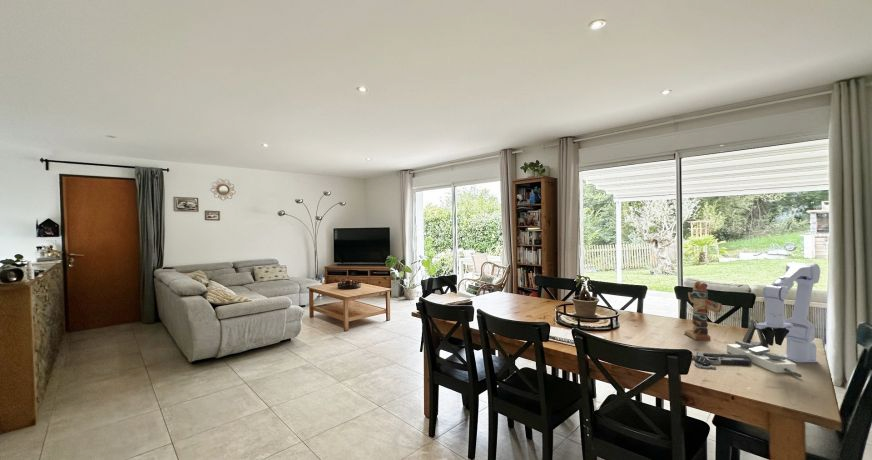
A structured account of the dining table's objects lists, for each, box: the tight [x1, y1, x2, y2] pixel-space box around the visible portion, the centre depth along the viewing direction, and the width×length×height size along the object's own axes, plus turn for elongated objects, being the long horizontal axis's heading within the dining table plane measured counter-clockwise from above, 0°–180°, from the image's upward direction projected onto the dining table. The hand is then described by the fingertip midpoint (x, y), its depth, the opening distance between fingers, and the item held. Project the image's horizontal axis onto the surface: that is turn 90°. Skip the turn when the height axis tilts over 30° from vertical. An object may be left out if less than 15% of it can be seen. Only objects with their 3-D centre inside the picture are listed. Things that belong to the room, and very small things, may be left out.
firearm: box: [692, 351, 752, 370], centre depth 160 cm, size 3×24×15 cm
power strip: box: [726, 343, 802, 378], centre depth 159 cm, size 9×30×4 cm, turn 1°
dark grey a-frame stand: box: [742, 319, 770, 348], centre depth 183 cm, size 9×6×12 cm, turn 59°
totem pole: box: [684, 280, 723, 342], centre depth 194 cm, size 29×7×30 cm, turn 172°
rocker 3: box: [763, 352, 786, 360], centre depth 154 cm, size 6×4×1 cm, turn 92°
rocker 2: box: [748, 346, 771, 354], centre depth 161 cm, size 6×4×1 cm, turn 91°
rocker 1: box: [734, 340, 756, 348], centre depth 168 cm, size 6×4×1 cm, turn 92°
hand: (774, 344), depth 154 cm, fingers open, 3 cm apart
